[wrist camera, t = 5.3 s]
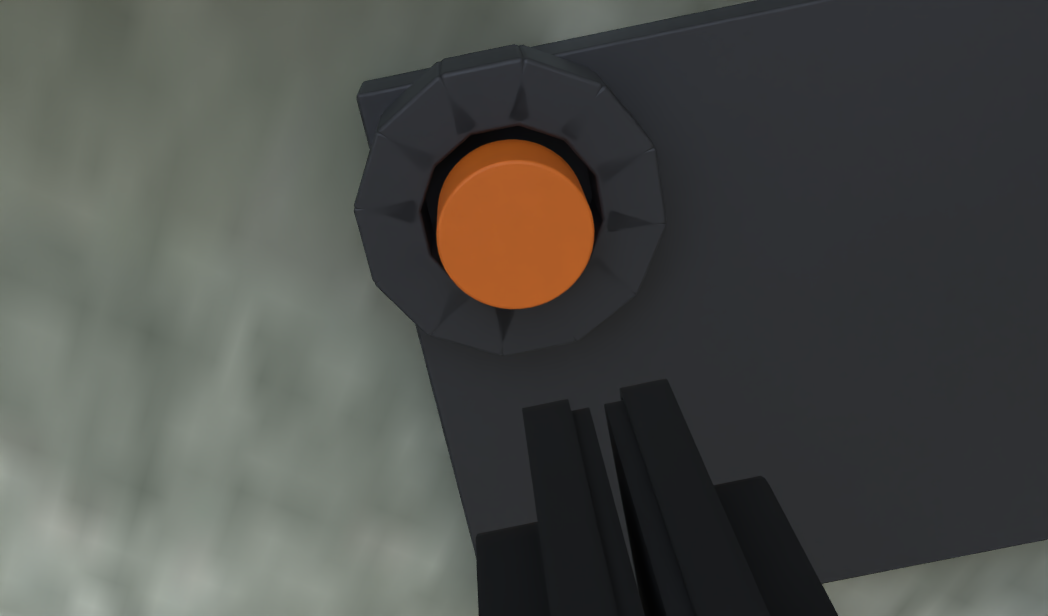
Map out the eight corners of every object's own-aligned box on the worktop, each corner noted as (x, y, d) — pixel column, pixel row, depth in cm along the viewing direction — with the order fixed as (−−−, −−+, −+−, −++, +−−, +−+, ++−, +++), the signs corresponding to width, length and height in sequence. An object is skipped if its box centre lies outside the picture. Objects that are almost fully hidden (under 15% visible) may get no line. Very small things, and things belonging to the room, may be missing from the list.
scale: (483, 612, 26) (487, 700, 23) (340, 67, 20) (322, 98, 17) (1102, 490, 26) (1180, 564, 23) (1136, -97, 20) (1245, -93, 17)
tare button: (455, 291, 20) (455, 323, 18) (422, 154, 18) (419, 178, 17) (595, 263, 19) (606, 293, 18) (571, 124, 18) (581, 145, 17)
